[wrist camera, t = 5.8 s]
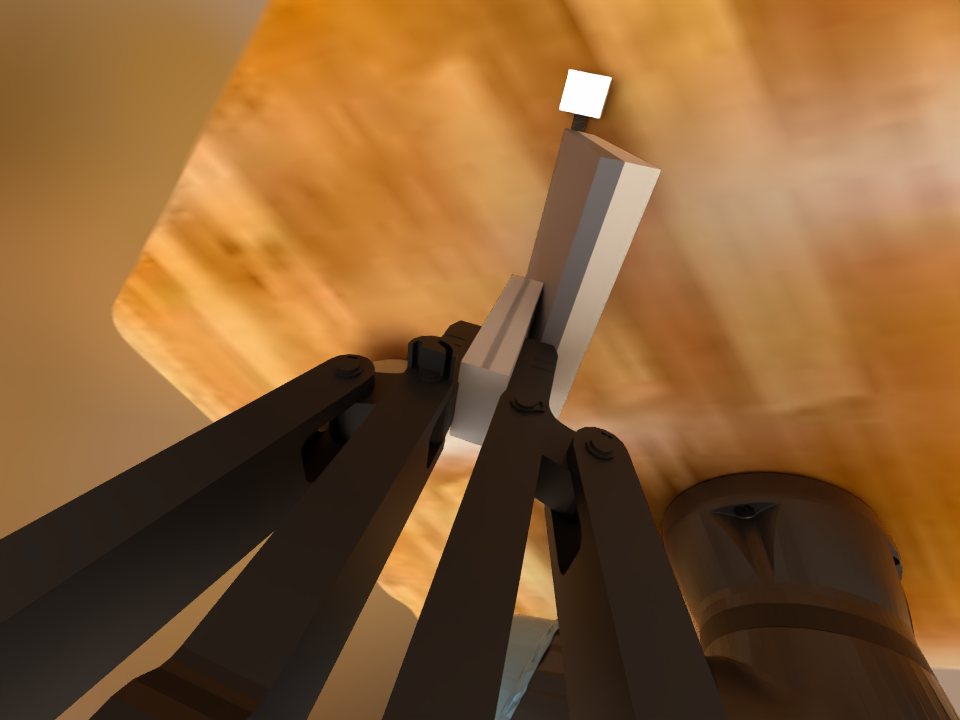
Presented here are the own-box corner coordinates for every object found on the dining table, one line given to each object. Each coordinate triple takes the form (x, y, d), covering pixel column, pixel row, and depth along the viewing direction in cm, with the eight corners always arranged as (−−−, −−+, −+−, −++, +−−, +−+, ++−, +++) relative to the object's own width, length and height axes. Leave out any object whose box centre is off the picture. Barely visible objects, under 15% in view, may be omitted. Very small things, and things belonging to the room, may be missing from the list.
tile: (565, 128, 19) (594, 134, 19) (512, 329, 26) (533, 333, 26) (601, 156, 9) (661, 169, 9) (499, 469, 16) (533, 476, 16)
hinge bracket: (612, 82, 19) (611, 77, 17) (530, 347, 29) (524, 364, 27) (574, 74, 19) (569, 69, 17) (506, 339, 29) (498, 355, 27)
